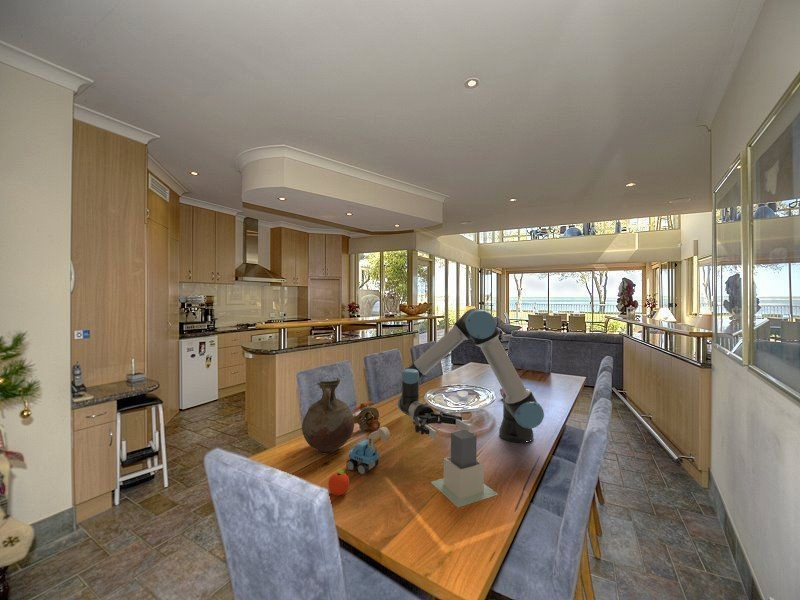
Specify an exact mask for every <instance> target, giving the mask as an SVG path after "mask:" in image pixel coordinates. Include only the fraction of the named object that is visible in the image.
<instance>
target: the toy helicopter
mask: <svg viewBox="0 0 800 600" xmlns="http://www.w3.org/2000/svg"><path fill="white" fill-rule="evenodd" d="M373 403H374V401H373V400H370V401H367V402H364V403H360V405H359V406H357V407H354V408H353V409H352V410H351V412H352V413H354V412H356V411H359V410H360V412H358V414H357V415H354V416H353V419H354V425H356V424H358V426H359V427H358V428H359V430H360V431H361V432H363V430H364V431H365V430H366V429H371V430H372V431H373V432H375V431H378V429H380V428H381V423H380V421H379V418H380V411H379V409H377V408H376V407H374V406H369V405H372V404H373Z"/></svg>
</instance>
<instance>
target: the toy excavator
mask: <svg viewBox="0 0 800 600" xmlns="http://www.w3.org/2000/svg"><path fill="white" fill-rule="evenodd" d="M378 438H380V439H381V443H385V442H387V441H389V440H390V438H391V432H390V430H389V429H388V427H386V426H382V427H381V426H380V427H379V429H378V430H376V431H372V432H371V433H369V435H368V439H363V440H361V441H359V442H358V443H355V445H353V448H352V449H351V450H349V452H348V458H349V459H348V460H346V469H347V470H348V471H354V470H356V469H357V472H358V474H360V476H364V475H366V474H367V473H369V470H372V468H374V469H375V468H376V467H377V466H378V465H379V459H380V452H378V449H377V446H376V445H375V444H376V442H375V441H376V439H378Z"/></svg>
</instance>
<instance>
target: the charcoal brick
mask: <svg viewBox="0 0 800 600" xmlns="http://www.w3.org/2000/svg"><path fill="white" fill-rule="evenodd" d="M477 437H478V436H477V435H476V434H474V433H472V432H470V431H469V430H468V431H467V430H462V429H461V430H458V431H457V430H456V431H452V432H450V456H451V462H452V463H453V464H455V465H456V466H457V467H459V468H460V469H464V468H468V467H471V466H475V465H476V459H477V446H478V445H477V441H478V439H477Z"/></svg>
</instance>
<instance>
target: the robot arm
mask: <svg viewBox="0 0 800 600" xmlns="http://www.w3.org/2000/svg"><path fill="white" fill-rule="evenodd" d="M496 323H497V322H496V319H495V318H494V316H493V315H492V314H491V313H490V312H489V311H488V310H485V309H482V308H470V309H468V310H467V311H465V312H464V314H462V316H461V317H459V318H458V320H457V321H455V323H453V326H452V328H451V329H450V330H449V331H448V332H447V333H446V334H444V335H443V336H442V337H441V338H440V339H439V340H438V341H436V342H435V343H434V344H433V345H432V346H431V347H430V348H429V349H427V350H426V351H424V353H423V354H422V355H421V356H420V357H418V359H416V360H415V361H414V362H413V363H412V364H411V365H409V366H407V367H406V368H405V369H403V370H402V372H401V376H400V377H401V378H400V379H401V395H400V397H398V401H397V407H398V409H399V410H400V411H401V412H402V413H403V414H404V415H407V416H408V417H410V418H411V419H412V423H413V425H414V428H415V429H414V430H415V433H420V435H425V434H426V435H427V436H429V437H430V438H432V439H433V440H437V430H435V429H433V428H432V427H431V426H430V424H432V425H433V424H439V425H440V424H448V425H454V426H455V427H456V428H458V429H460V430H461V431H462V430H467V431H469V424H468V423H466V422H464V421H463V416H459V415H455V414H452V413H448V412H444V411H440V412H439V413H437V412H435V411H434V410H433V408H432V407H431V406H429V405H427V404H425V403H424V402H421V401H420V395H419V394H420V393H419V392H420V380H421V379H422V378H423V377H424V376H425V375H427V373H429V371H431V370H432V369H433V368H434V367H435V366H437V364H439V363H440V362H441V361H442V360H443V359H444V358H446V357H447V356H448V355H449V354H450V353H451V352H452V351H453V350H455V349H456V348H457V347H458V346H459V345H460V344H462V343H463V342H464V341H468V340H469V339H471V340H472V342H473V344H474V346H476V347H479V348H480V350H481V352H482V353H483V355H484V357H485V359H486V360H487V363H488V365H489V366H490V368H491V370H492V372H493V374H494V376H495V377H496V381H498V383H499V386H500V387H501V389H503V397H502V399H503V401H502V404H503V405H502V406H503V409H502V410H503V413H502V414H503V415H502V416H503V417H502V421H501V424H500V426H499V430H498V435H499V436H501V437H500V438H502V439H503V438H504V439H503V440H505V439H506V440H505V441H508V440H509V441H508V442H511V441H515V442H514V443H517V442H526V441H530V440H532V439H533V440H534V431H533V429H534V428H535V429H536V428H537V427H538V426H540V425H541V424H542V422H543V420H544V417H545V413H544V409H543V407H542V405H541V404H540V403H539V402H538V401H537V399H536V398H535V396H534V394H533V392H532V390H531V389H530V388H529V387H525V385H524V383H523V381H522V379H521V378H520V375H519V374H518V372H517V370H516V368H515V367H514V365H513V363H512V360H511V359H510V357H509V355H508V353H507V352H506V350H505V348H504V346H503V344H502V343H501V339H500V338H499V336H500V331H499V329H498V327H497V324H496ZM419 424H420V425H419ZM533 440H532V441H533ZM530 442H531V441H530Z"/></svg>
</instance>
